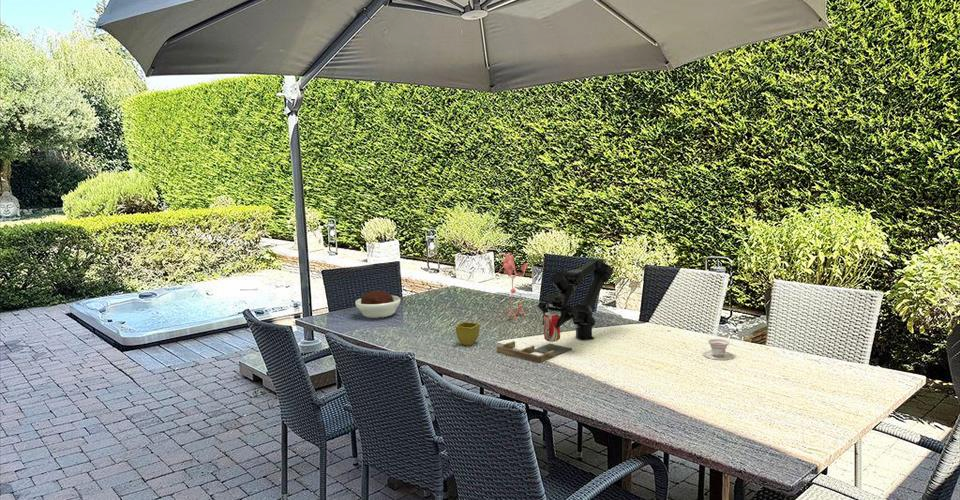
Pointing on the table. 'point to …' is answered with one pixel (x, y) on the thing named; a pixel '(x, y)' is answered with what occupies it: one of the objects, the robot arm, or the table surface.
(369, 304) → the white dessert bowl
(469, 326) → the flower pot
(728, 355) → the teacup
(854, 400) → the table surface
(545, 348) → the rubber mat
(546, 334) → the soda can
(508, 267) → the figurine
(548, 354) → the shelf lanes
